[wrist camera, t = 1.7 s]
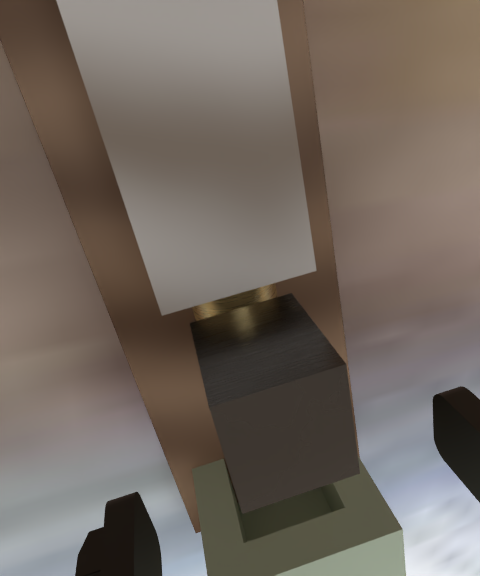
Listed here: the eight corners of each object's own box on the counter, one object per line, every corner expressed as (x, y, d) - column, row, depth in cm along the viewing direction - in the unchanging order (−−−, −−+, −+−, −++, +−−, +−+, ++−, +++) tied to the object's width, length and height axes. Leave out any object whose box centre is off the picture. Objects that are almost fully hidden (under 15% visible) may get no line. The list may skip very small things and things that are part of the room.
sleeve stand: (-12, -18, 14) (-110, -89, 9) (277, -76, 16) (362, -175, 10) (192, 510, 26) (209, 630, 20) (350, 457, 27) (409, 556, 21)
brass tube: (85, -29, 13) (30, -160, 6) (204, -54, 13) (275, -202, 7) (218, 408, 20) (259, 566, 14) (291, 385, 21) (367, 528, 14)
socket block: (191, 469, 23) (211, 598, 17) (336, 421, 24) (402, 529, 18) (210, 520, 25) (233, 653, 19) (344, 474, 25) (406, 588, 20)
